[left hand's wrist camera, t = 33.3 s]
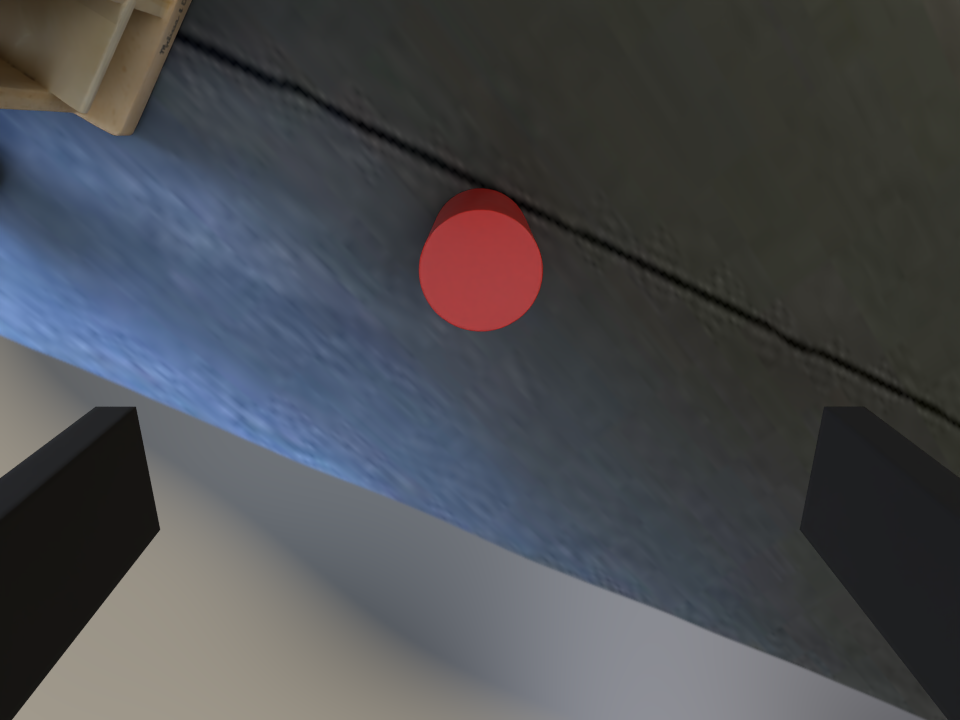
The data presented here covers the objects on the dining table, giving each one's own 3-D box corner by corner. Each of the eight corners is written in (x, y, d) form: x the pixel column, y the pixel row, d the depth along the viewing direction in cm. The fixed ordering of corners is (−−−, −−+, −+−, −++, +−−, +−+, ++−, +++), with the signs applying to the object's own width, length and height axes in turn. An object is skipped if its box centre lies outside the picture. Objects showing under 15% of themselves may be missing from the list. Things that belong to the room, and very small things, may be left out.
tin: (464, 168, 36) (459, 184, 28) (547, 222, 37) (567, 252, 29) (415, 252, 38) (396, 292, 29) (495, 301, 39) (499, 353, 30)
